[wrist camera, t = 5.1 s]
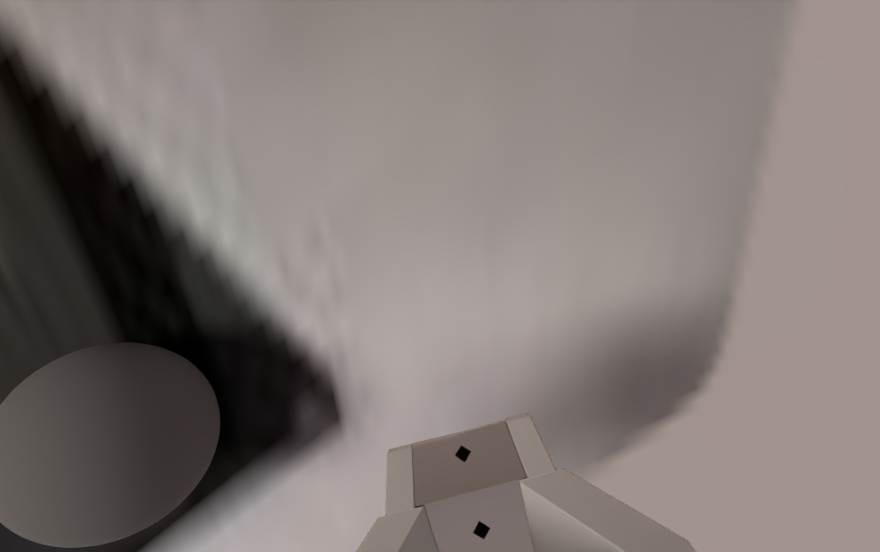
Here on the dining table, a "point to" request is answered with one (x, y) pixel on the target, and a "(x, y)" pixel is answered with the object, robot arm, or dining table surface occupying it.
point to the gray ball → (104, 443)
